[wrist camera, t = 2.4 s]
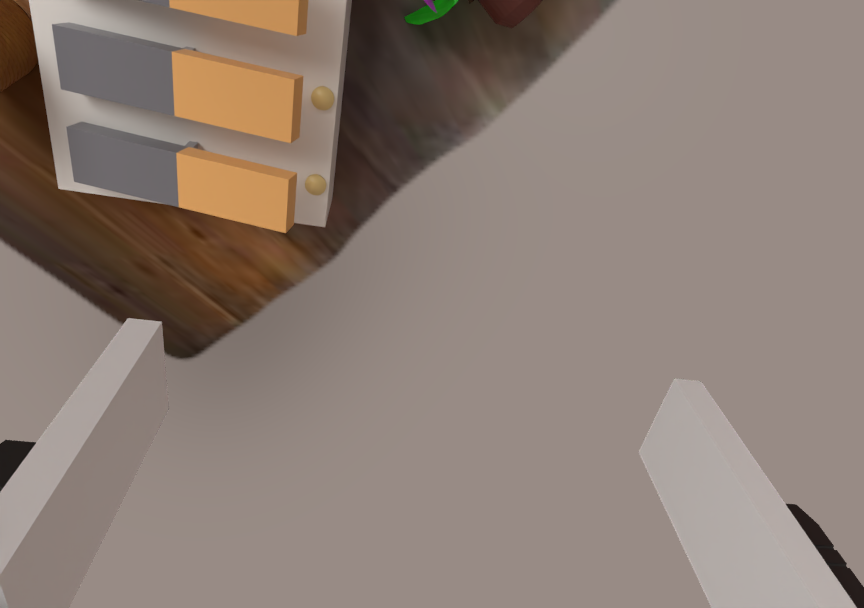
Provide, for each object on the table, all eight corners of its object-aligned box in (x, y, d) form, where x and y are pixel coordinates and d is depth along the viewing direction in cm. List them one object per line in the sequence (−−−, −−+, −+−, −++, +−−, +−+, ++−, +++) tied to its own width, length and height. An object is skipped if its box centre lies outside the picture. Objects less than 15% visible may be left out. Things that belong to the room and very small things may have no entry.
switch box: (93, 163, 49) (48, 196, 43) (58, -126, 39) (-8, -139, 33) (332, 199, 52) (323, 235, 46) (358, -62, 42) (350, -63, 35)
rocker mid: (77, 85, 40) (60, 89, 39) (69, 22, 38) (51, 24, 37) (299, 137, 39) (290, 143, 38) (303, 75, 37) (294, 79, 36)
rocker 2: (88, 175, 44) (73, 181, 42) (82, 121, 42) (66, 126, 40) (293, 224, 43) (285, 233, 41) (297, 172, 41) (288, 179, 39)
